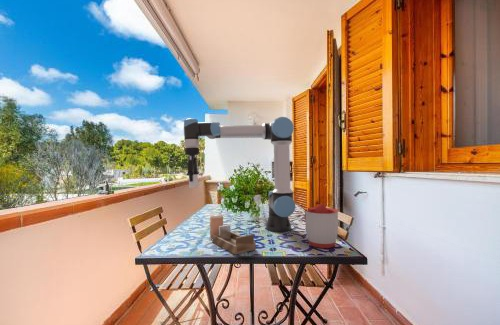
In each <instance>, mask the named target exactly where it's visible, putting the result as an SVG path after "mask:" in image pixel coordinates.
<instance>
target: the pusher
mask: <svg viewBox="0 0 500 325" xmlns="http://www.w3.org/2000/svg"><path fill="white" fill-rule="evenodd" d="M230 232H231V224H226V225H224V224H223V226H219V237H220V238H222V239H224V240H225V239H230Z"/></svg>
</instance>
